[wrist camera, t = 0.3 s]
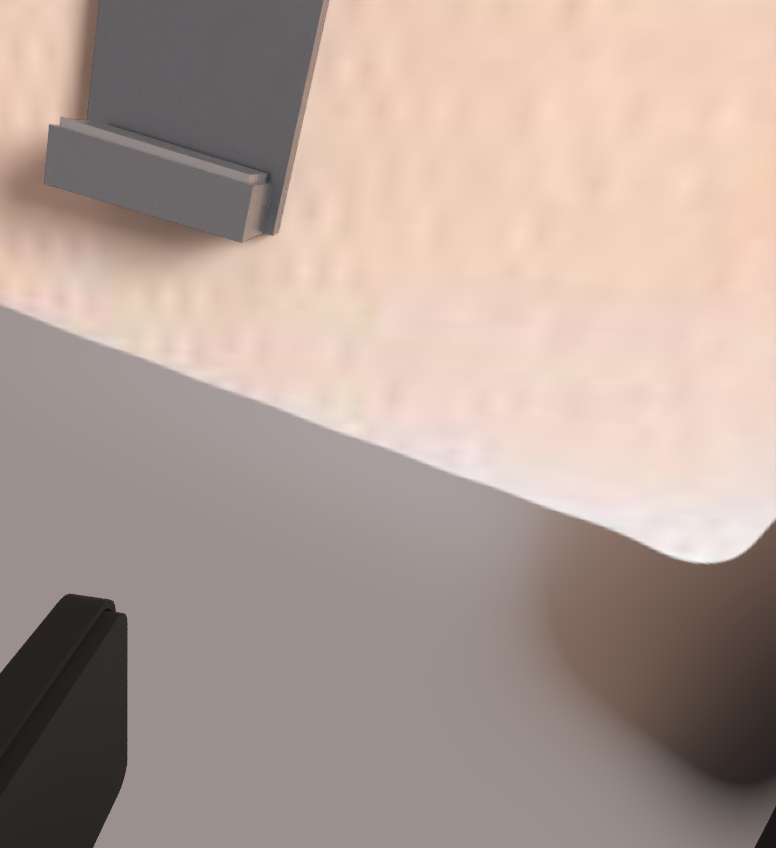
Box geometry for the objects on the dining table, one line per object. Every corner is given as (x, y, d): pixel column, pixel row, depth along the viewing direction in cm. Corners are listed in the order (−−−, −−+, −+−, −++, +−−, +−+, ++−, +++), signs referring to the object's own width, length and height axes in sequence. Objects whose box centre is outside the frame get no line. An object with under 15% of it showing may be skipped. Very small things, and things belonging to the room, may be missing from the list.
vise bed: (142, -254, 28) (75, -356, 23) (367, -176, 29) (356, -257, 23) (94, 177, 35) (32, 180, 29) (278, 232, 36) (252, 245, 30)
